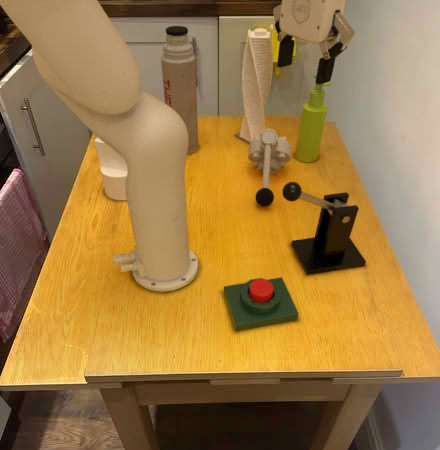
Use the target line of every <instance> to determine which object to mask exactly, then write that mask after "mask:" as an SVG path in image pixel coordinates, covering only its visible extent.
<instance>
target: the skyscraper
mask: <svg viewBox="0 0 440 450" xmlns="http://www.w3.org/2000/svg"><path fill="white" fill-rule="evenodd" d="M269 27H270V28H269V31H267V29H266V28H255V29H254V31H253V30H251V29H250V28H249V29H248V30H247V35H246V36H247V37H246V42H245V47H244V54H243V61H242V62H243V63H242V73H241V88H242V89H241V90H242V91H241V92H242V101H243V107H244V108H243V109H244V113H243V118H242V123H241V127H240V132H239V133H236V134H235V137H237V138H238V139H240V140H242V141H244V142H246V143H247V144H248V145H249V144H250V143H251V142H252V141H253V138H254V137H256V136H258V137H261V132H262V131H263V130H265V129H266V122H265V115H264V114H265V111H264V109H265V106H266V103H267V100H268V97H269V94H270V91H271V85H272V80H273V71H274V50H273V49H274V47H273V32H274V24H273V23H271V24H270V26H269Z"/></svg>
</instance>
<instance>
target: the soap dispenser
mask: <svg viewBox="0 0 440 450" xmlns="http://www.w3.org/2000/svg"><path fill="white" fill-rule="evenodd" d="M316 76H317V73H315V74H313V78H314V79H316ZM331 85H332V82H331V80H330V81H329V82H327V83H323V84H320V85H318V84H316V83H315V85H314V87H313V88H312V89H310V92H309V99H308V100H309V101H306V102H304V103H303V104H302V109H301V116H300V121H299V128H298V129H299V130H298V135H297V142H296V148H295V155H294V156H295V158H296V160H298V161H300V162H304V163H313V162H315V161H317V160H318V159H319V153H320V147H321V145H322V144H321V143H322V139H323V133H324V129H325V122H326V118H327V114H328V113H327V112H328V107H329V106H328V105H327V104H326V103H324V101H325V96H326V90H325V89H323V87H325V86H326V87H327V86H331Z"/></svg>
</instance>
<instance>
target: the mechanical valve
mask: <svg viewBox="0 0 440 450" xmlns="http://www.w3.org/2000/svg"><path fill="white" fill-rule="evenodd" d="M278 136H279V134H278V133H277V131H276V130H275V129H273V128H265V130H263V131H262V132H261V137H258V136H256V137H254V138H253V141H252V142H251V143H250V144H249V143H248V155H247V158H248V160H249V161H250V162H252V163H253V164H254V165H253V166H254V168H256V169H257V171H258V172H260V173H262V182H261V183H262V184H261V185H262V186H261V188H260V189H257V192H255V193H256V194H255V197H254V199H255V203H256V204H257V205H258V206H260V207H263V208H267V207H269V206H271V205H272V204H273V202H274V200H275V194H274V192H273V190H272V189H271V188H270V175H271V174H277V173H279V172H280V169H284V168H286V167H285V166H286V163H289V162H290V161H291V158H292V144H291V143H290V142H289V141H288V140H287V137H286V136H279V137H278Z"/></svg>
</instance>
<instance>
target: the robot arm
mask: <svg viewBox="0 0 440 450" xmlns="http://www.w3.org/2000/svg"><path fill="white" fill-rule="evenodd" d="M345 6H346V0H282V1H281V3H280V4H279V5H277V6H275V7H274V8H273V9H272V14H273V18H274V22H275V23H274V28H275V31H276V33H277V37H276V40H277V42H278V43H279V45H278V53H277V60H276V61H277V62H276V66H277V67H276V68H280V69H281V68H284V67H289V66H291V65H292V64H293V58H294V51H295V44H296V43H295V42H296V40H295V39H293V38H296V39H297V40H298V39H299V40H301V41H304V42H306V43H310V44H312V45H313V44H314V45H317V44H318V45H319V48H320V51H321V55H322V57H320V58H319V59H318V66H317V70H316V74H317V76H316V78H315V84H318V85H320V84H323V83H327V82H329V81H330V82H331V80H332V76H333V73H334V67H335V64H336V58H338V57H340V55H341V53H343V52H344V51H345V50H347V48H348V45H349V44H350V43H351V41H352V39H353V38H354V36H355V30H354V29H353V27H352V26H351V24H350V23H349V22H348V21H347V19H346V18H345V16H344V14H345ZM0 7H1V8H2V10H3V11H4V12H5V14H6V15H7V16H8V17H9V19H10V20H11V22H13V24H14V25H15V26H16V27H17V28H18V30H19V31H20V33H22V35H23V36H24V37H25V38H26V40H27V41H28V42H29V43H30V45H31V51H32V53H31V55H32V58H33V61H34V64H35V67H36V69H37V71H38V73H39V74H40V76H41V78H42V80H44V82H45V83H46V84H47V85H48V86H49V88H51V90H52V91H53V92H54V93H55V94H56V95H57V96H58V98H59V99H60V100H61V101H62V102H63V103H64V104H65V105H66V106H67V107H68V108H69V109H70V111H71V112H72V113H73V114H74V115H75V116H76V117H77V118H78V119H79V120H80V121H81V122H82V123H83V125H84V126H85V127H87V129H88V130H89V131H90V132H92V133H93V134H94V135H95V136H96V138H97V137H98V138H99V139H100V140H102V141H103V142H104V143H106V144H107V145H108V146H110V147H111V148H112V149H114V150H115V151H116V152H117V153H118V154H120V155H121V156H122V157H123V158H124V159H125V161H126V163H127V167H128V172H127V177H126V182H125V190H126V197H127V200H126V203H127V206H128V212H129V217H130V223H131V227H132V228H131V229H132V234H133V238H134V250H130V251H129V253H128V252H127V253H118V254H113V255H112V259H113V264H114V266H119V265H120V271H121V273H126V272H129V271H131V272H132V276H133V278H134V280H135V282H137V284H138V285H140V286H141V287H143V288H145V289H147V290H150V291H154V292H172V291H176V290H179V289H181V288H184V287H186V286H187V285H189V284H191V282H192V281H193V280H194V279H195V278H196V276H197V274H198V272H199V260H198V258H197V255H196V254H195V253H194V251H192V249H190V242H189V228H188V213H187V212H188V210H187V198H186V197H187V196H186V164H187V158H188V154H187V152H188V143H189V138H188V131H187V128H186V125H185V123H184V121H183V120H182V118H181V117H180V116H179V114H178V113H177V112H176V111H175V110H174V109H172V108H171V107H170V106H168V105H167V104H165V101H163V100H161V99H159V98H157V97H155V96H153V95H152V94H150V93H147V92H145V91H143V90H142V84H143V83H142V75H141V70H140V67H139V64H138V62H137V59H136V57H135V55H134V53H133V52H132V50H131V48H130V47H129V45H128V44H127V43H126V41H125V40H124V39H123V37H122V35H121V34H120V33H119V31H118V30H117V28H116V26H115V25H114V23H113V22H112V20H111V18H109V16H108V14H107V13H106V12H105V10H104V8H103V7H102V5H101V4H100V3H99V0H0ZM339 35H340V36H339Z"/></svg>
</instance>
